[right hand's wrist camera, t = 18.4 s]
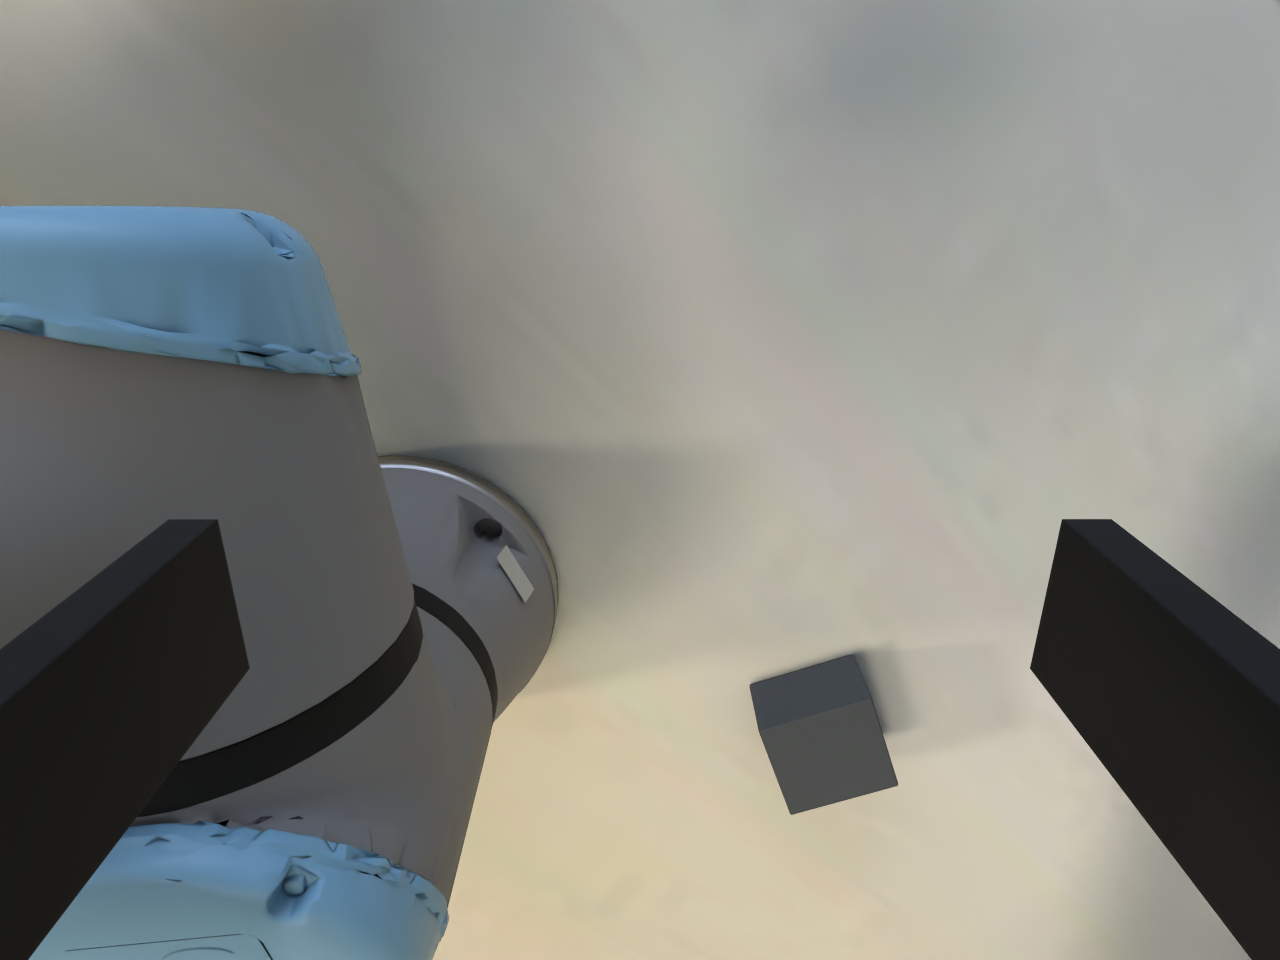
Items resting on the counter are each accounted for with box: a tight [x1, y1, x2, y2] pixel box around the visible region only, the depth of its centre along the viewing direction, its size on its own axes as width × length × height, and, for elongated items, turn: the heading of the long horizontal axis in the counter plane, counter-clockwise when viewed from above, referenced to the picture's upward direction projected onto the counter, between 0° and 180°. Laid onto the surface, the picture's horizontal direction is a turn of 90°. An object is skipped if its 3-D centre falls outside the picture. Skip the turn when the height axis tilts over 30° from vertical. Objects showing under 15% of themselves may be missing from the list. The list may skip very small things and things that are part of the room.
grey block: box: [750, 655, 898, 815], centre depth 44 cm, size 6×6×4 cm
